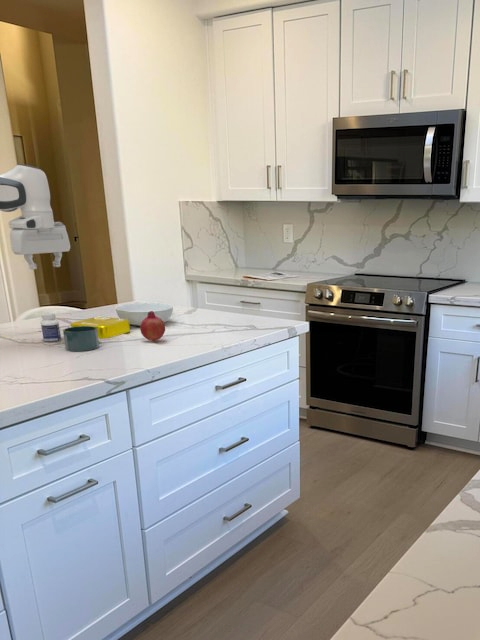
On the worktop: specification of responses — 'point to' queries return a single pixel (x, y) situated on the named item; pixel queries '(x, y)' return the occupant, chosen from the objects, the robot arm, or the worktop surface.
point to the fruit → (152, 327)
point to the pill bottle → (50, 329)
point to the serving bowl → (143, 311)
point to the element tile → (105, 326)
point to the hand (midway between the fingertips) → (45, 268)
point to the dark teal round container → (81, 338)
